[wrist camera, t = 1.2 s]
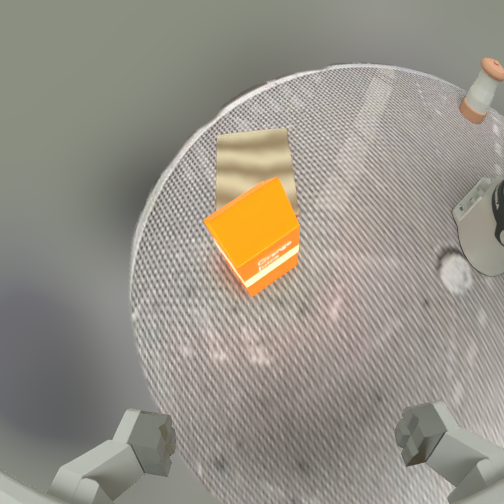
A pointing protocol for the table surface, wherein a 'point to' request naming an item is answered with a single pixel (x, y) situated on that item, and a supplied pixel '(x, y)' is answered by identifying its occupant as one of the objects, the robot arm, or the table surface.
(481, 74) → the pepper shaker
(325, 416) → the table surface
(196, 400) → the table surface
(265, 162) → the board
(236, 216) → the orange juice
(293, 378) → the table surface
